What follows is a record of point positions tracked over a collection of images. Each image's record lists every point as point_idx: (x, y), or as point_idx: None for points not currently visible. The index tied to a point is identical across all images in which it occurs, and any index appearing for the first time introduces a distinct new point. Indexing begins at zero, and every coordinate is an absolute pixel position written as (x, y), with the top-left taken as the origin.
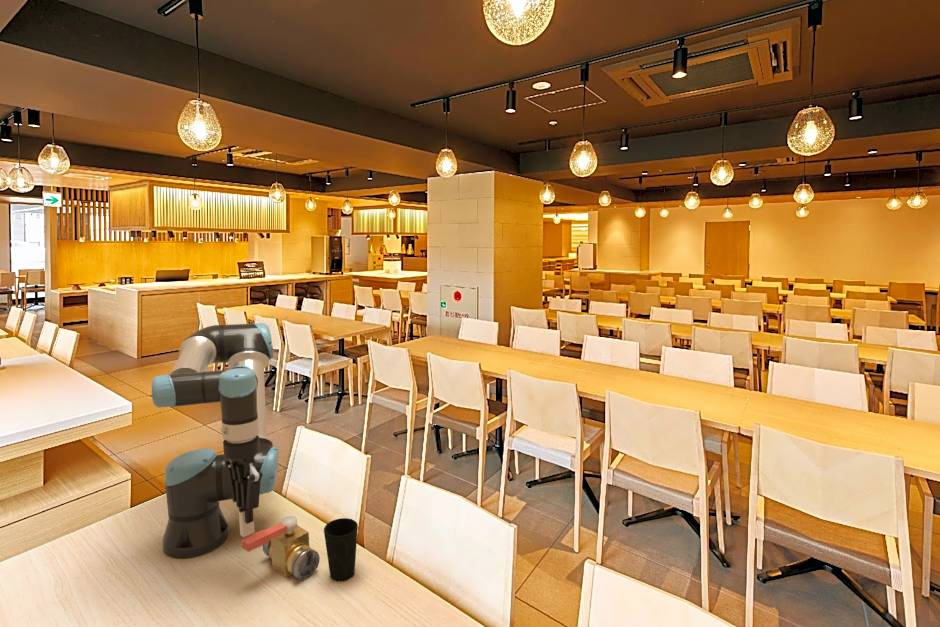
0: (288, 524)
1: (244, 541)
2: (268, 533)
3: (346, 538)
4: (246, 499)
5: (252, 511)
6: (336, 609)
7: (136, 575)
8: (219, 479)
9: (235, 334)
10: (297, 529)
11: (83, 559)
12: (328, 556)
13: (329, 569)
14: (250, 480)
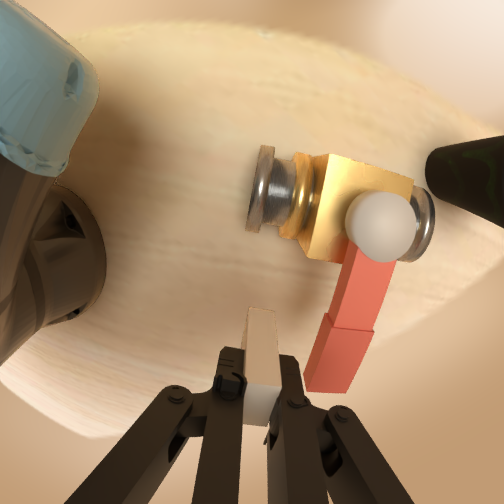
0: (404, 252)
1: (324, 391)
2: (365, 325)
3: None
4: (327, 488)
5: (301, 392)
6: (475, 259)
7: (87, 363)
8: None
9: None
10: (371, 182)
11: (16, 357)
12: (470, 211)
13: (442, 197)
14: None
